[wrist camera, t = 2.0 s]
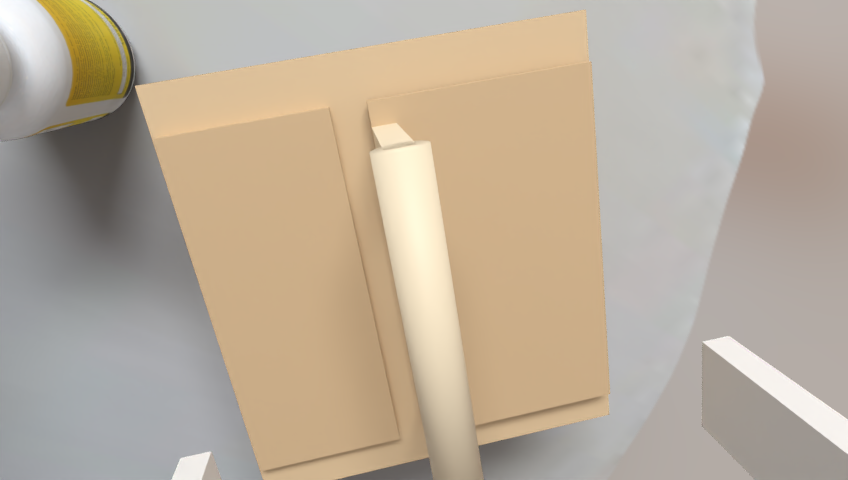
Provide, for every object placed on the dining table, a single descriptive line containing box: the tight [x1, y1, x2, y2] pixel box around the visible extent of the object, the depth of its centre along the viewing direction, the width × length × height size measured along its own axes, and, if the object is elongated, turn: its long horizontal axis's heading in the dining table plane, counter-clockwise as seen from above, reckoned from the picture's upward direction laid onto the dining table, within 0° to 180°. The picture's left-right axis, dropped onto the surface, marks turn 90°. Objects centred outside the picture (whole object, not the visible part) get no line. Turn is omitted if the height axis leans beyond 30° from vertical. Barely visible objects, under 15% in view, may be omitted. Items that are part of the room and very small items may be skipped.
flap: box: [366, 62, 610, 480], centre depth 21 cm, size 10×16×8 cm, turn 9°
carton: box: [135, 10, 609, 480], centre depth 29 cm, size 18×20×11 cm
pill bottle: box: [0, 0, 135, 141], centre depth 23 cm, size 6×6×12 cm
